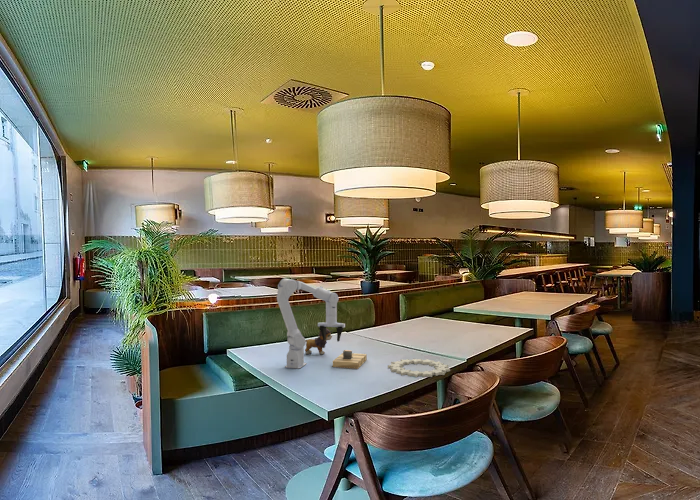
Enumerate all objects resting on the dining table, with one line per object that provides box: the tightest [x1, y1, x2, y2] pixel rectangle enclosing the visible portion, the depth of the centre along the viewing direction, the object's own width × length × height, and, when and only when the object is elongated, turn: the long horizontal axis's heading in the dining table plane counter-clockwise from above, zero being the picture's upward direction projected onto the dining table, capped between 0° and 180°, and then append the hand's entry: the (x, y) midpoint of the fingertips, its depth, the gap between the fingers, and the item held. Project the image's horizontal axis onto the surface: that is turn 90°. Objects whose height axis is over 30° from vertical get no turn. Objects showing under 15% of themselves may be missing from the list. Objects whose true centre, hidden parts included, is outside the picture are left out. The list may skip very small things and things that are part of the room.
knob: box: [342, 349, 353, 359], centre depth 227 cm, size 5×5×7 cm
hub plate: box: [332, 352, 368, 370], centre depth 228 cm, size 18×13×3 cm
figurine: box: [304, 327, 334, 355], centre depth 249 cm, size 7×22×15 cm, turn 78°
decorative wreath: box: [387, 358, 451, 378], centre depth 217 cm, size 30×2×30 cm
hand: (331, 340), depth 233 cm, fingers open, 7 cm apart
